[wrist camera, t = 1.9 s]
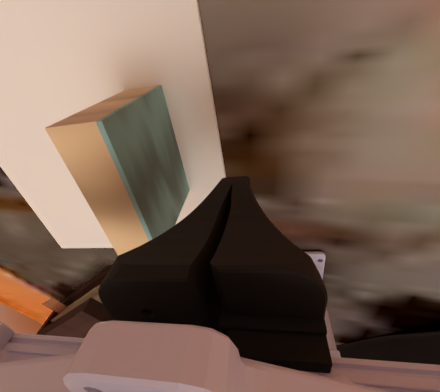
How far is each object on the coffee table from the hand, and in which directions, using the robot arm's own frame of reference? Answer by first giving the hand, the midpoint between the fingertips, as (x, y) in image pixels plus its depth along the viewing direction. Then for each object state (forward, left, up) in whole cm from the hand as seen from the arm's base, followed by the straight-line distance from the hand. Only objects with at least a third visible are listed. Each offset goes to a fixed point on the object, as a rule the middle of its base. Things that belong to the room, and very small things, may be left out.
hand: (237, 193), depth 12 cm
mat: (0, +13, -8) cm, 15 cm away
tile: (0, +7, -8) cm, 10 cm away
